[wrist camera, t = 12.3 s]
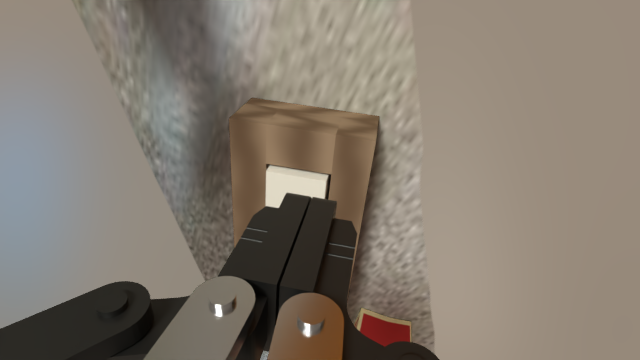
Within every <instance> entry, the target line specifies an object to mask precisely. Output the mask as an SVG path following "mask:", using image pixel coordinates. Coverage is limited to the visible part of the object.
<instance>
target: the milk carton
mask: <svg viewBox="0 0 640 360" xmlns="http://www.w3.org/2000/svg"><path fill="white" fill-rule="evenodd" d="M354 326H355V327H356V328H357V329H358V330H359V331H360V332H361V333H362V334H364V335H365V336H367V337H368V338H370V339H372V340H373V341H375V342H377V343H379V344H381V345H383V346H387V345H388V344H391V343H393V342H398V341H407V342H412V334H411V322H410V321H405V320H399V319H394V318H389V317H386V316H383V315H380V314H378V313H375V312H372V311H369V310H366V309H364V308H361V310H360V312H359V314H358V316H357V318H356V321H355V323H354Z"/></svg>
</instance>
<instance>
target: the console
mask: <svg viewBox="0 0 640 360" xmlns="http://www.w3.org/2000/svg"><path fill="white" fill-rule="evenodd" d="M378 122H379V116H373V115H367V114H360V113H353V112H346V111H339V110H332V109H326V108H319V107H312V106H305V105H298V104H291V103H285V102H278V101H271V100H264V99H257V98H251V99H250V100H249V101H248V102H247V103H246V104H244V105H243V106H242V107H241V108H240V109H239V110H238V111H237V112H236V113H234V114H233V115H232V116H231V117H230V118H229V132H230V156H231V180H232V203H233V227H234V248H235V246H236V244H237V243H238V241H239V239H241V236H242V234H243V232H244V231H245V229H246V228H247V225H248V224H249V222H250V220H251V219H252V217H253V215H254V214H256V213H257V212H258V211H260V210H261V209H263V208H264V207H266V170H267V169H268V167H269V166H270V164H271V165H277V166H283V167H289V168H295V169H301V170H307V171H313V172H320V173H326V174H331V180H330V189H329V197H328V200H334V201H337V209H336V216H335V218H337V219H343V220H348V221H352V223H353V225H354V227H355V230H356V232H357V239H356V246H355V252H354V259H353V265H352V272H353V267H354V261H355V256H356V250H357V245H358V239H359V233H360V228H361V222H362V217H363V211H364V206H365V200H366V194H367V189H368V183H369V178H370V172H371V167H372V161H373V155H374V150H375V144H376V138H377V130H378ZM352 272H351V278H352ZM350 284H351V279H350ZM349 289H350V285H349ZM348 295H349V292H348ZM347 300H348V298H347Z"/></svg>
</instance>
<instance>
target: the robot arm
mask: <svg viewBox="0 0 640 360" xmlns="http://www.w3.org/2000/svg"><path fill="white" fill-rule="evenodd" d="M336 209H337V201H334V200H328V199H322V198H316V197H312V198H311V197H310V196H304V195H299V194H293V193H286V194H285V196H284V198H283V200H282V202H281V205H280V207H279V208H275V207H269V206H266V207H264V208H263V209H261V210H260V211H258V212H257V213H256V214H254V215H253V217H252V219H251V220H250V222H249V224H248V225H247V228H246V229H245V231H244V232H243V234H242V236H241V239H239V241H238V243H237V244H236V246H235V248H234V250H233V251H232V253H231V255H230V257H229V258H228V260H227V262H226V263H225V265H224V267H223V269H222V270H221V272H220V274H219V275H218V277H215V278H212V279H209V280H207V281H205V282H204V283H202V284H201V285H199V286H198V287H197V288H196V289H195V290H194V291H193V293H192V294H191V295H190V296H186V297H180V298H167V299H152V300H151V299H150V295H149V293H148V291H147V289H146V288H145V287H143V286H142V285H140V284H138V283H134V282H128V281H125V282H115V283H111V284H108V285H105V286H102V287H100V288H97V289H95V290H92V291H90V292H88V293H85V294H83V295H81V296H78V297H76V298H73V299H71V300H69V301H66V302H64V303H61V304H59V305H57V306H54V307H52V308H49V309H47V310H45V311H42V312H40V313H37V314H35V315H33V316H30V317H28V318H25V319H23V320H21V321H18V322H16V323H13V324H11V325H9V326H6V327H4V328H1V329H0V360H260V358H261V355H262V352H263V350H264V351H269V354H268V358H267V360H439V359H438V358H437V356H436V355H435V354H433V353H432V352H431V351H430V350H428V349H427V348H425V347H423V346H421V345H419V344H416V343H413V342H407V341H398V342H393V343H391V344H388V345H387V346H383V345H381V344H379V343H377V342H375V341H373V340H372V339H370V338H368V337H367V336H365V335H364V334H362V333H361V332H360V331H359V330H358V329H357V328H356V327H355V326H354V325H353V323H352V322H351V320H350V318H349V315H348V312H347V298H348V292H349V285H350V279H351V272H352V265H353V259H354V252H355V246H356V239H357V232H356V230H355V227H354V225H353V223H352V221H348V220H343V219H337V218H335V216H336Z"/></svg>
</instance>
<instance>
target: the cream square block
mask: <svg viewBox="0 0 640 360" xmlns="http://www.w3.org/2000/svg"><path fill="white" fill-rule="evenodd" d="M330 180H331V174H326V173H320V172H313V171H307V170H301V169H295V168H289V167H283V166H277V165H271V164H270V166H269V167H268V169H267V170H266V206H269V207H275V208H279V207H280V205H281V202H282V200H283V198H284V196H285V194H286V193H293V194H299V195H304V196H310V197H311V198H312V197H316V198H322V199H328V197H329V189H330Z"/></svg>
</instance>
